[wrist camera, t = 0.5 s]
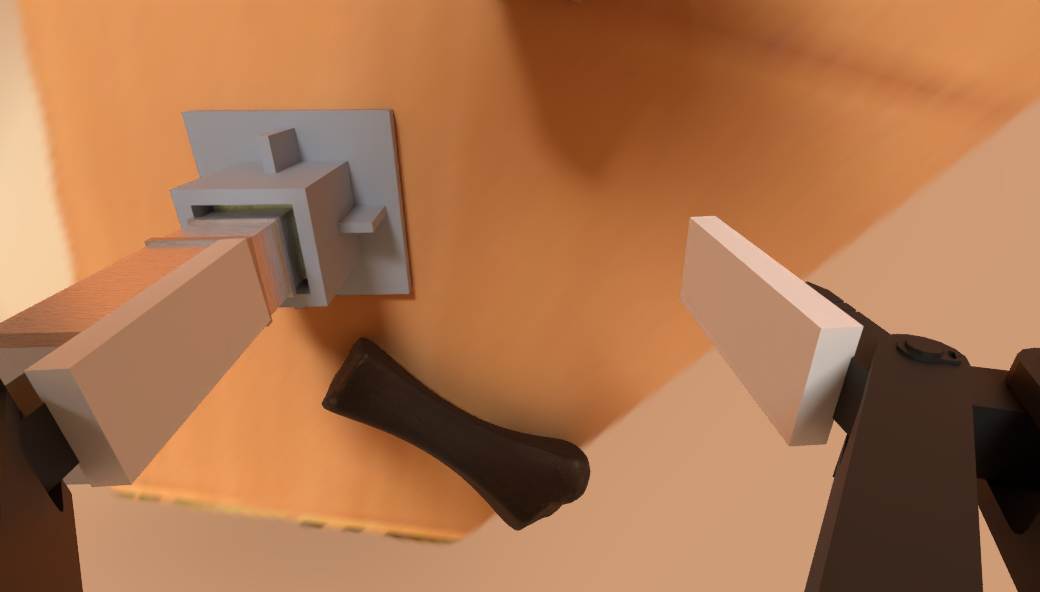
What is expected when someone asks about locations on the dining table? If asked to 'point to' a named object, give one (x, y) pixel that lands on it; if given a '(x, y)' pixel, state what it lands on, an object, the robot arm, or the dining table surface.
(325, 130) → the stand base
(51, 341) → the column
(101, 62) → the dining table surface
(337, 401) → the dark brown bone
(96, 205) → the dining table surface
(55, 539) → the robot arm
